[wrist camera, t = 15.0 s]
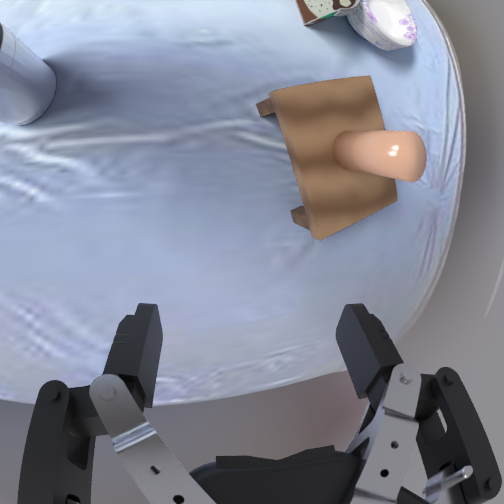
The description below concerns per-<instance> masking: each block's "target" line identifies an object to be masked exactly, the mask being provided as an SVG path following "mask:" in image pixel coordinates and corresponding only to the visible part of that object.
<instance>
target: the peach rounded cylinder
mask: <svg viewBox="0 0 504 504" xmlns="http://www.w3.org/2000/svg"><path fill="white" fill-rule="evenodd" d="M333 154H334V158H335V160H336V162H337V164H338V165H339V166H340V167H341V168H343V169H345V170H350V171H356V172H362V173H367V174H373V175H378V176H383V177H389V178H393V179H398V180H403V181H408V182H415V181H417V180H418V179H420V177H421V176H422V174H423V173H424V170H425V167H426V159H427V158H426V149H425V145H424V142H423V140H422V139H421V137H420V136H419V135H418V134H417V133H415V132H412V131H384V130H359V131H344V132H341V133H340V134H339V135H338V136H337V137H336V139H335V141H334V145H333Z"/></svg>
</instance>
